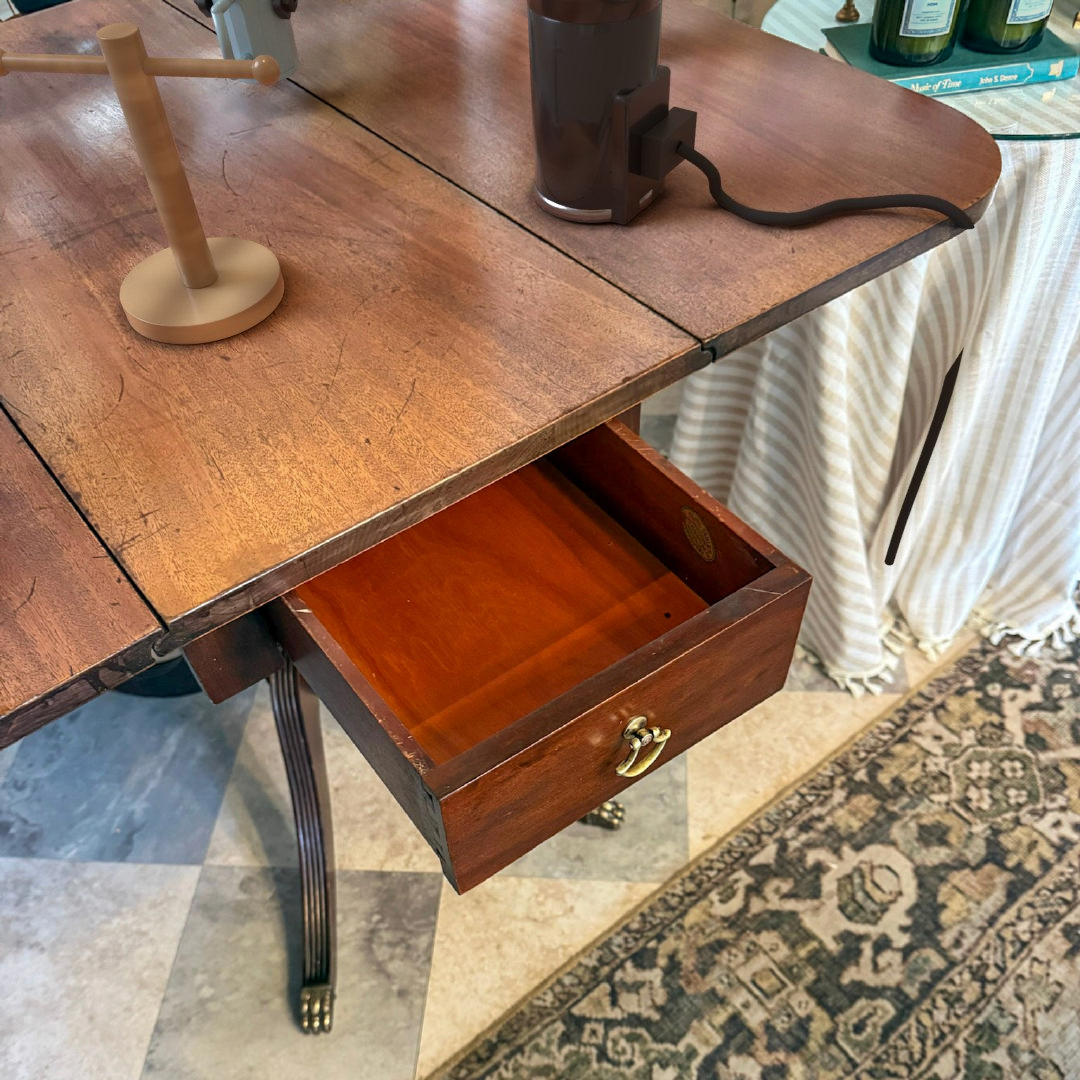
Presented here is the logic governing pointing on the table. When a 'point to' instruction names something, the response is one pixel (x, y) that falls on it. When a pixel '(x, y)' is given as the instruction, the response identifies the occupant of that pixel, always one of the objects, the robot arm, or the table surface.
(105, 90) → the table surface
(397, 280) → the table surface
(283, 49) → the mug
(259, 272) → the mug tree
